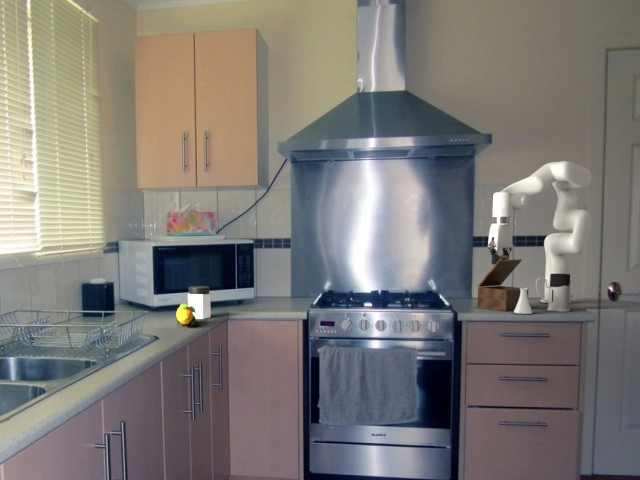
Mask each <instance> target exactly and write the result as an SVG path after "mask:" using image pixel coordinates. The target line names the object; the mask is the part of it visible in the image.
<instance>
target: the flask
mask: <svg viewBox="0 0 640 480" xmlns="http://www.w3.org/2000/svg"><path fill="white" fill-rule="evenodd" d="M519 288H520V290H521V292H520V298H519V300H518V303H517V306H516V308H515V310H514V311H513V313H514V314H520V315H521V314H522V315H529V314H530V315H531V314H533V309H532V307H531V303H530V301H529V294H528V295H527V290H528V291H529V288H528V287H519Z"/></svg>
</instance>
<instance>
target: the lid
mask: <svg viewBox="0 0 640 480" xmlns="http://www.w3.org/2000/svg"><path fill="white" fill-rule="evenodd" d="M522 261H523V260H522V259H521V258H519V259H518V258H515V259H509V260H508V256H507V255H504V254H503V255H502V254H501V255H499V261H498V262H497V263H496V264H493V267H491V269H490V270H489V271H488V272H487V273H486V275H485V276H484V278H483V279H482V280H481V281H480V282H479V283H478V284H477V288H478V287H491V286H502V284H503V283H504V282H505V281H506V280H507V279H508V278H509V276H510V275H511V274H512V273H513V272H514V271H515V269H516V268H517V267H518V265H520V263H521V262H522Z"/></svg>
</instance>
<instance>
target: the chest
mask: <svg viewBox="0 0 640 480" xmlns="http://www.w3.org/2000/svg"><path fill="white" fill-rule="evenodd" d="M520 288H521V287H517V286H507V285H506V286H505V285H499V286H485V287H478V286H477V308H478V309H485V310H492V311H493V310H494V311H500V312H501V311H502V312H511V311H512V312H514V310H515V308H516V306H517V303H518V300H519V298H520V292H521V290H520ZM527 295H528V296H529V289H528V290H527Z"/></svg>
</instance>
